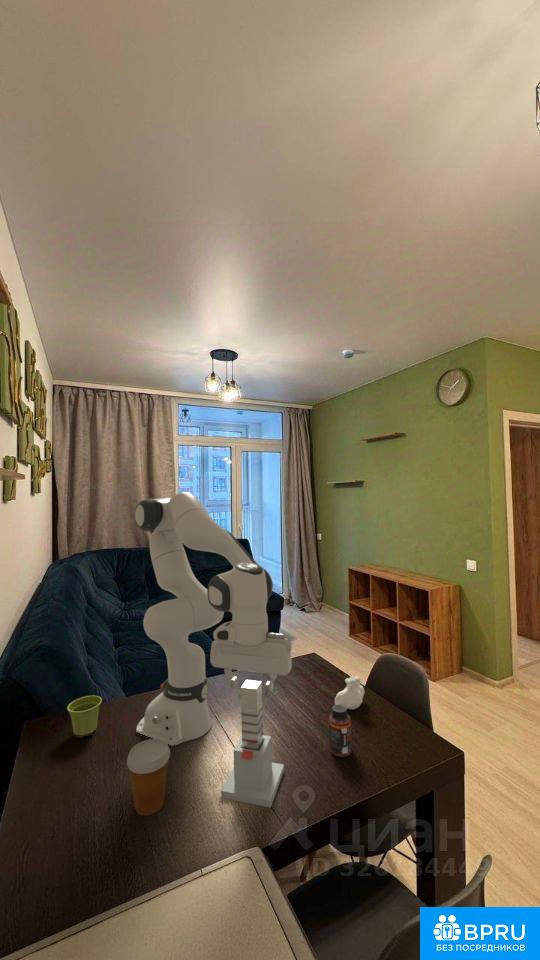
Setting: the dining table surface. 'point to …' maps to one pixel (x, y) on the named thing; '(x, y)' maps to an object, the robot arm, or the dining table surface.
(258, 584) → the robot arm
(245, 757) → the stand base
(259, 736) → the column
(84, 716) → the plant pot
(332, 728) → the supplement bottle
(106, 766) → the dining table surface
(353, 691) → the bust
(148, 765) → the disposable coffee cup
